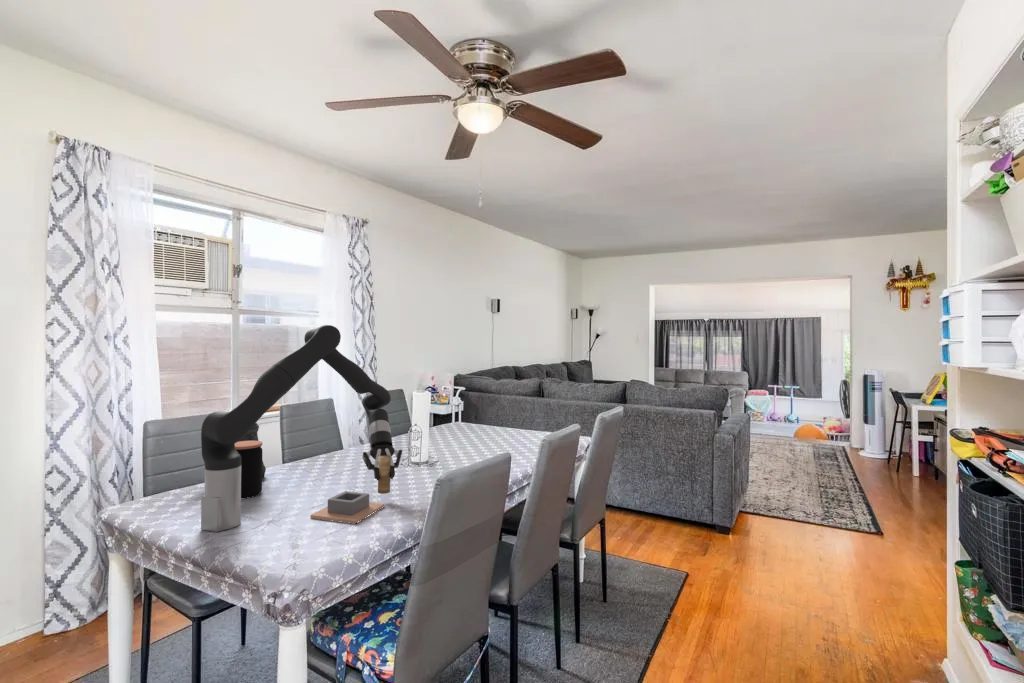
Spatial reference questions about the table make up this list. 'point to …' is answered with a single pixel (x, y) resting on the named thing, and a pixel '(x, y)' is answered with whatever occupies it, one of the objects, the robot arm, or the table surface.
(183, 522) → the table surface
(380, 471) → the tan dome-topped cylinder
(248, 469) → the coffee jar
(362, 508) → the holder
